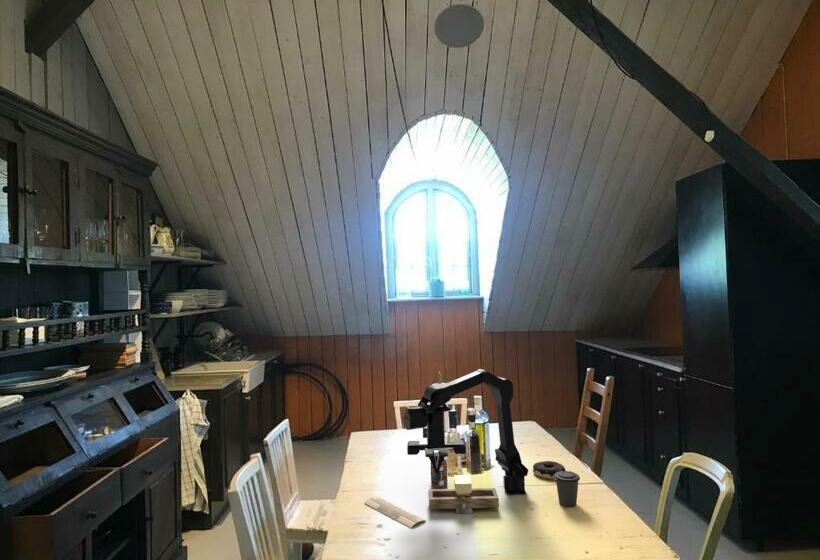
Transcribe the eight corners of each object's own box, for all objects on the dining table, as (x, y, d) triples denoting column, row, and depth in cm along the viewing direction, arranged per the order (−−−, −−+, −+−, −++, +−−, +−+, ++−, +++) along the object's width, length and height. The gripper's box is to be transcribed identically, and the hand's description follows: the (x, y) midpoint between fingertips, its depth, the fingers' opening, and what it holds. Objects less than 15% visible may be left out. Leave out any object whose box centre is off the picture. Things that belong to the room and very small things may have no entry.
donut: (559, 483, 181) (559, 472, 181) (528, 476, 188) (527, 466, 188) (569, 472, 191) (568, 462, 191) (538, 467, 197) (538, 456, 197)
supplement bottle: (446, 489, 179) (445, 457, 179) (429, 488, 180) (428, 456, 180) (448, 482, 184) (447, 451, 184) (432, 481, 186) (431, 450, 186)
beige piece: (426, 524, 155) (425, 518, 155) (408, 532, 151) (408, 526, 151) (378, 500, 173) (378, 495, 173) (361, 506, 168) (361, 501, 168)
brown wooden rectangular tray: (495, 500, 168) (494, 486, 168) (499, 513, 159) (498, 498, 159) (428, 502, 169) (428, 488, 169) (429, 514, 160) (429, 500, 160)
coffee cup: (581, 500, 167) (580, 469, 167) (580, 511, 159) (579, 479, 159) (555, 497, 170) (554, 467, 169) (554, 508, 162) (553, 476, 162)
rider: (469, 493, 167) (469, 475, 167) (472, 502, 161) (471, 483, 161) (454, 493, 167) (454, 475, 167) (456, 502, 161) (455, 483, 161)
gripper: (462, 418, 172) (463, 464, 172) (407, 419, 172) (408, 465, 172) (465, 427, 161) (466, 477, 161) (406, 428, 161) (407, 477, 161)
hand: (436, 473), depth 164 cm, fingers closed
